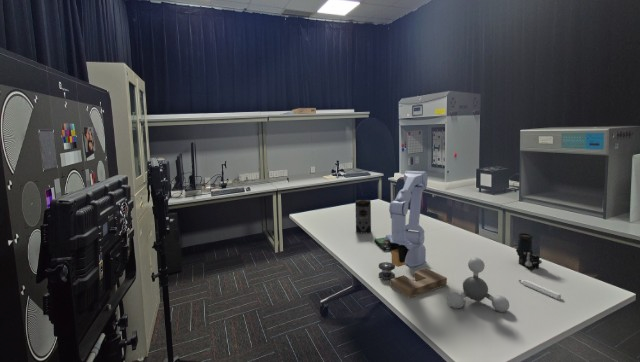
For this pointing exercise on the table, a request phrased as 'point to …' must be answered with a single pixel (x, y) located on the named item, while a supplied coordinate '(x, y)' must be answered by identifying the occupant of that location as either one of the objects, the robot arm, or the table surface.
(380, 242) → the disk drive
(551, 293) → the marker
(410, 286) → the notched board
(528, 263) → the scope
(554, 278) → the table surface
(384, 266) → the bobbin
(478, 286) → the molecule model
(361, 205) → the electronic device
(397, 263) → the orange rectangular block
